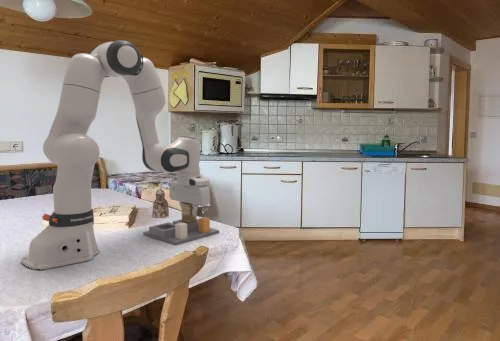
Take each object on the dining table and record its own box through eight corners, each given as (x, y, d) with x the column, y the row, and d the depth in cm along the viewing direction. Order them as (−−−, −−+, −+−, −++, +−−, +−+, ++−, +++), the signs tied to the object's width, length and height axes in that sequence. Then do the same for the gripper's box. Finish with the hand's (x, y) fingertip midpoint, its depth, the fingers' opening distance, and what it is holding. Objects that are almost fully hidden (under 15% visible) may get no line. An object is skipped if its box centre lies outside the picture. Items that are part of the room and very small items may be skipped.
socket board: (175, 245, 146) (175, 228, 145) (143, 234, 159) (142, 219, 158) (219, 232, 162) (219, 217, 161) (186, 224, 174) (186, 209, 173)
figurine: (151, 218, 184) (150, 190, 183) (154, 214, 191) (153, 188, 190) (167, 217, 185) (166, 190, 183) (169, 214, 192) (169, 188, 190)
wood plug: (188, 225, 162) (188, 205, 161) (182, 223, 165) (181, 203, 164) (196, 223, 165) (196, 203, 164) (189, 221, 168) (189, 202, 167)
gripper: (165, 176, 167) (165, 211, 169) (200, 182, 154) (200, 219, 156) (177, 175, 172) (178, 208, 174) (212, 180, 159) (212, 216, 160)
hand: (189, 213), depth 165 cm, fingers closed on wood plug, 4 cm apart
